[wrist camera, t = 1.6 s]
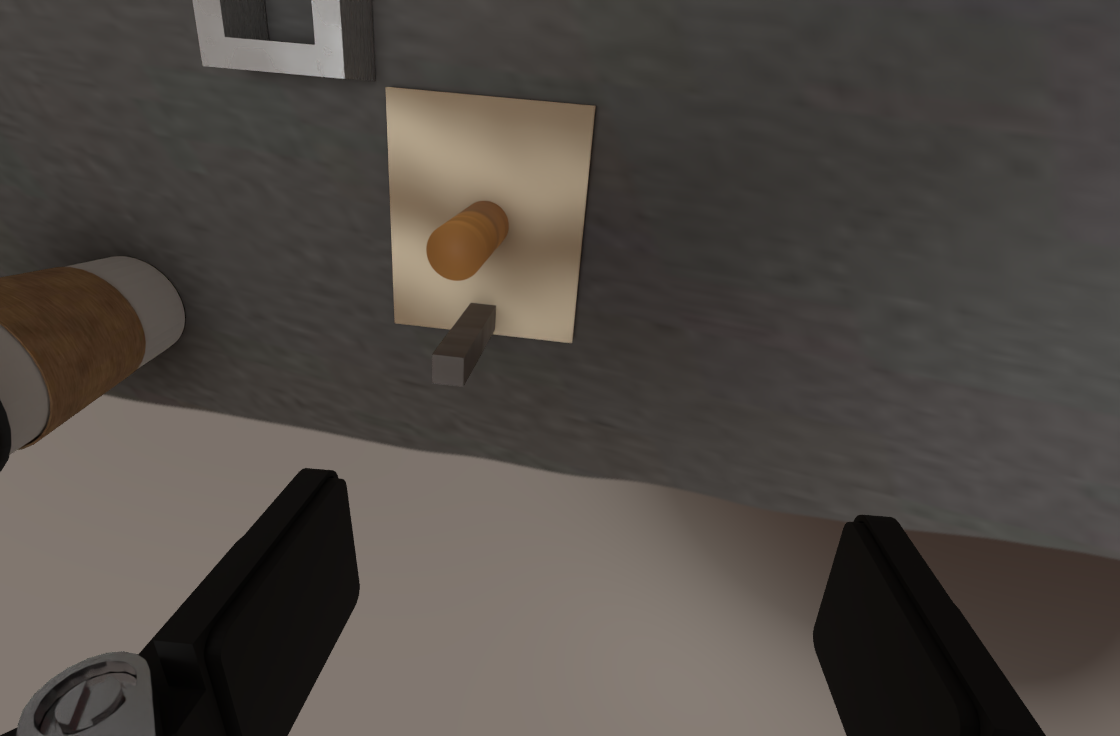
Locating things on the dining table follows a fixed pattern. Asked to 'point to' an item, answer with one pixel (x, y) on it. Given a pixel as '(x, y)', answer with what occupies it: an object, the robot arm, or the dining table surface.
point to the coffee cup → (76, 339)
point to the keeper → (486, 218)
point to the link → (242, 42)
